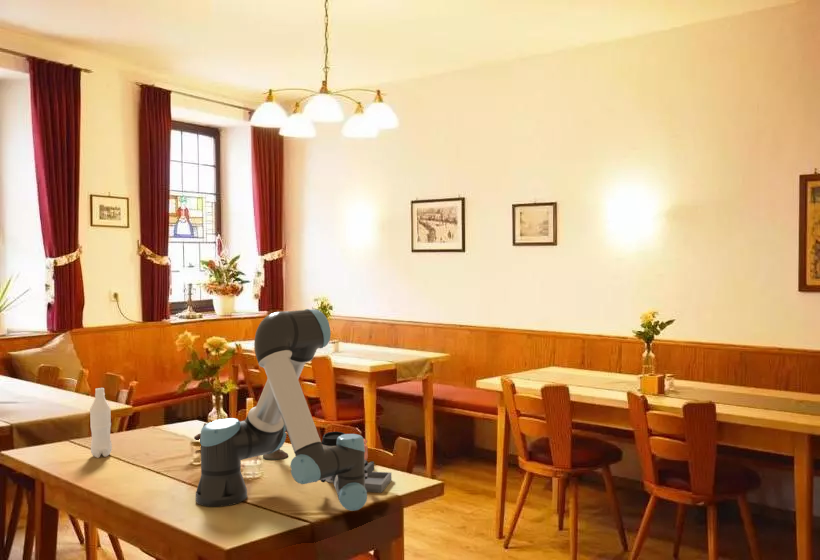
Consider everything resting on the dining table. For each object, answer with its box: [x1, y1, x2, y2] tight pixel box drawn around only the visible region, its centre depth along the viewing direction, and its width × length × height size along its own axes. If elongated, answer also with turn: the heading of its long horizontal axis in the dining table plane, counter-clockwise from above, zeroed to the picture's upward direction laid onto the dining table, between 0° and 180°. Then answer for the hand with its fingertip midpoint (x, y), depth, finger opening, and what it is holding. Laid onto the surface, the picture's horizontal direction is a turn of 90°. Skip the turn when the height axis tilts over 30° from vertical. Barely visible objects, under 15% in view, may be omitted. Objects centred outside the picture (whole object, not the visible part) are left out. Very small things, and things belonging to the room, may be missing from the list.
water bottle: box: [89, 387, 113, 459], centre depth 270 cm, size 7×7×25 cm
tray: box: [365, 470, 392, 494], centre depth 234 cm, size 13×13×2 cm
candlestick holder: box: [262, 448, 289, 461], centre depth 267 cm, size 9×9×30 cm
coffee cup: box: [321, 431, 346, 484], centre depth 239 cm, size 8×8×15 cm
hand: (338, 461), depth 232 cm, fingers open, 13 cm apart
